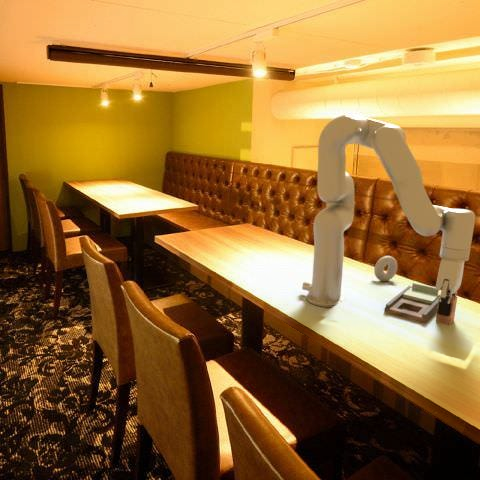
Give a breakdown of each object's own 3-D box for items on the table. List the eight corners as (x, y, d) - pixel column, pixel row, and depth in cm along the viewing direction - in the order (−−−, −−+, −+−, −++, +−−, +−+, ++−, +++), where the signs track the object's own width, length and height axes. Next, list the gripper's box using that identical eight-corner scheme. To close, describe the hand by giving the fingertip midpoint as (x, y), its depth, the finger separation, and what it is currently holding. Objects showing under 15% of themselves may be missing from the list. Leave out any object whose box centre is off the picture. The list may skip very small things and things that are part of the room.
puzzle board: (383, 316, 134) (385, 304, 133) (407, 296, 151) (409, 285, 150) (423, 328, 127) (425, 315, 126) (444, 305, 144) (446, 294, 143)
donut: (377, 284, 162) (379, 258, 160) (371, 281, 165) (373, 255, 163) (398, 280, 166) (400, 255, 164) (391, 278, 169) (394, 253, 167)
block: (435, 322, 129) (438, 297, 127) (439, 318, 132) (442, 293, 130) (449, 326, 126) (453, 300, 124) (453, 322, 129) (457, 296, 127)
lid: (402, 297, 142) (403, 288, 141) (410, 290, 148) (412, 281, 147) (432, 304, 136) (433, 295, 136) (439, 296, 142) (440, 288, 142)
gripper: (448, 244, 132) (440, 300, 137) (432, 256, 120) (423, 318, 124) (475, 249, 128) (466, 307, 132) (461, 262, 115) (452, 325, 120)
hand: (445, 311), depth 128 cm, fingers open, 4 cm apart
